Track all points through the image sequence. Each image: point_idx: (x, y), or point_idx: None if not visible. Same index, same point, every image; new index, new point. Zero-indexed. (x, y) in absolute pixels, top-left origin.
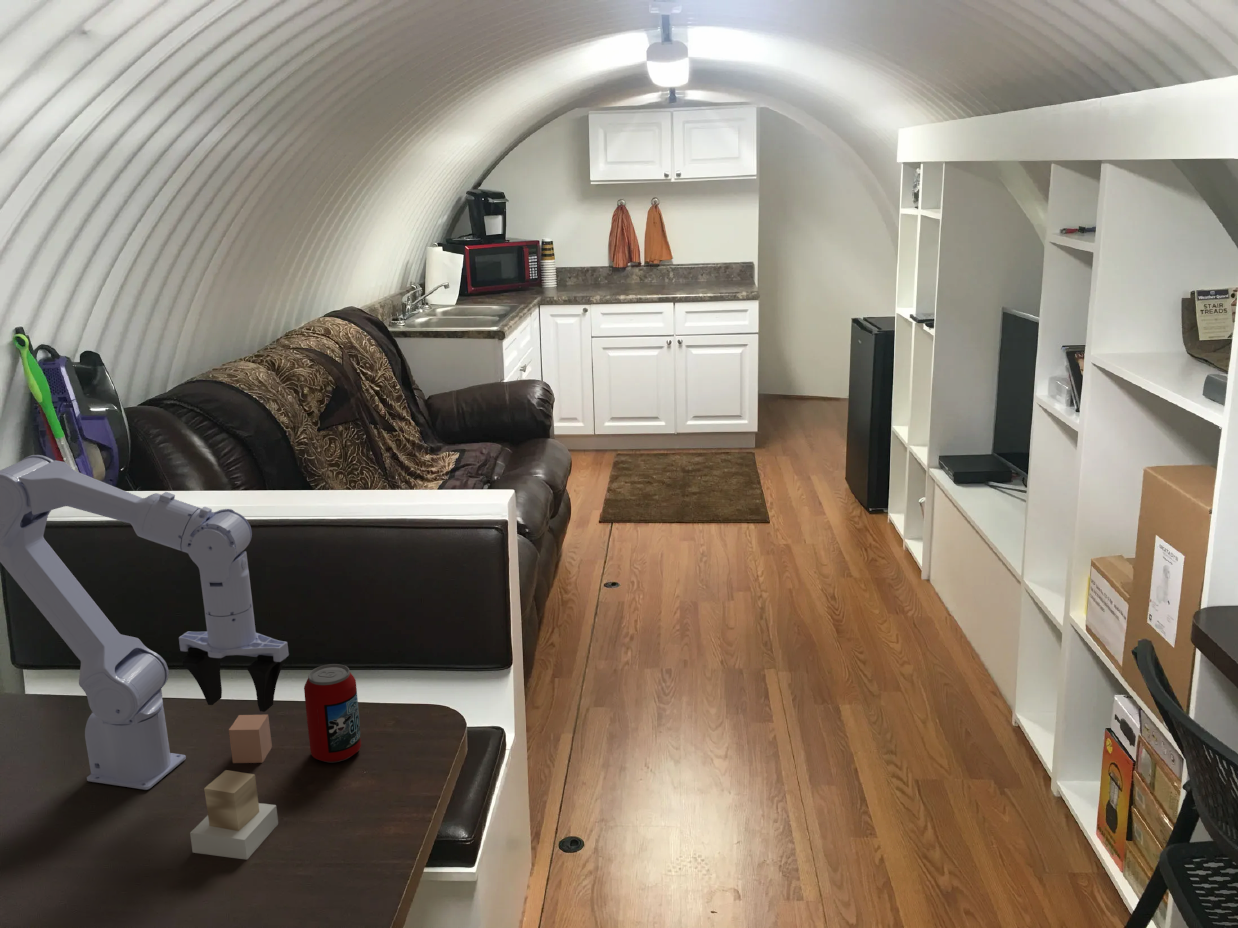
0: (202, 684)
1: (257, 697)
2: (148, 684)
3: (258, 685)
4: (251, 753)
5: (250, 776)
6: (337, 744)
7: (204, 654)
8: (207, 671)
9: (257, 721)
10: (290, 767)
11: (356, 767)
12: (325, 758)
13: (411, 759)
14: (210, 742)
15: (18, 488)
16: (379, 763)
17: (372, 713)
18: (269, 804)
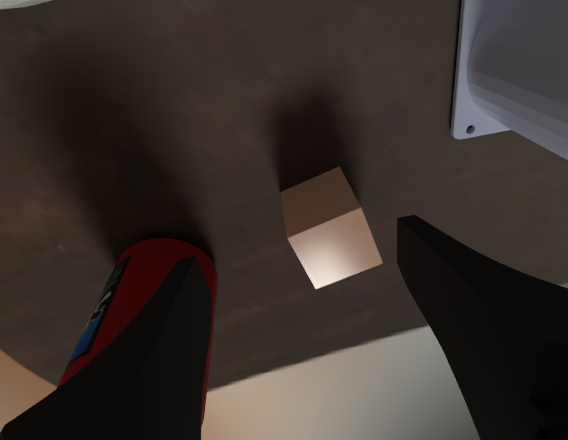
0: (461, 259)
1: (177, 291)
2: None
3: (134, 341)
4: (302, 194)
5: None
6: (112, 276)
7: (549, 428)
8: (473, 328)
9: (318, 260)
10: (210, 201)
11: (90, 251)
12: (143, 242)
13: (26, 305)
14: (436, 202)
15: None
16: (65, 276)
17: (216, 366)
18: (15, 4)
